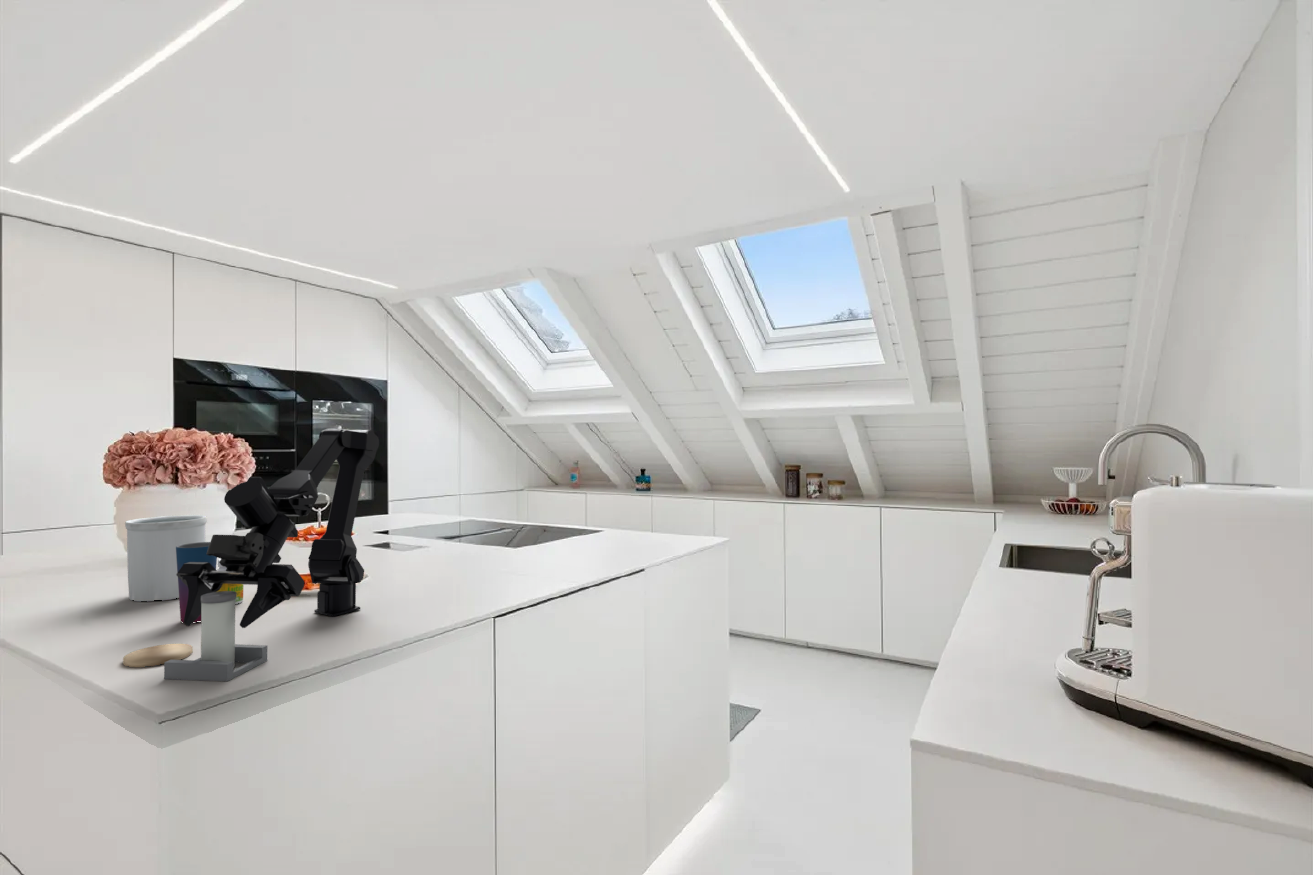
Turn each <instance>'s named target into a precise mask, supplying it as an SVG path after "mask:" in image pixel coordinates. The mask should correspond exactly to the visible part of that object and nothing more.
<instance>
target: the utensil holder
mask: <svg viewBox="0 0 1313 875" xmlns="http://www.w3.org/2000/svg"><path fill="white" fill-rule="evenodd" d="M207 521H208V518H207V516H206V515H203V514H182V515H181V514H178V515H176V514H175V515H163V516H152V517H143V518H134V519H129V520H126V521H125V523H124V525H125V526H124V527H125V529H126V542H127V543H126V551H127V552H126V553H127V556H126V557H127V558H126V559H127V561H126V562H127V584H128V585H127V586H128V598H129V600H130V601H132V600H134V601H133V602H141V601H147V602H155V601H154V600H162V601H170V600H174V599H176V598H177V599H179V588H178V576H177V575H176V574H177V558H176V546H177V545H181V544H187V543H196V542H206V523H208V522H207Z"/></svg>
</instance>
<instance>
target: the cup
mask: <svg viewBox="0 0 1313 875" xmlns="http://www.w3.org/2000/svg"><path fill="white" fill-rule="evenodd" d="M210 542H211V541H205V542H196V543H187V544H181V545H177V546H176V558H177V573H178V571H179V570H180V568H181V567H182V566H183V564H184V563H188V562H207V563H210V564H211V565H212V566H213V567H214V568H215V569H216V570H217V565H218V557H215V556H213V555H211V556H209V555H207V554H206V553H207V550H208V547H209V545H210ZM178 588H179V598H178V601H179V616H180V617H179V618H180V622H181V621H182V622H183V621H184V616H185V611H186V606H187V601H188V587H187V586H186V585H185V584H184V583H183V582H182V580H181V579H180V578H179V577H178ZM197 621H201V615H200V616H199V617H198V618H197V619H196V620H195V621H194V622H197Z"/></svg>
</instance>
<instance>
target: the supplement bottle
mask: <svg viewBox="0 0 1313 875" xmlns="http://www.w3.org/2000/svg"><path fill="white" fill-rule="evenodd" d="M220 560H221V558H218V559H217V567H218V569H217V568H216V570H217V571H226V569H227V568H226V567H223V566H222V565H221V564H220V563H219V562H220ZM220 591H234V592H236V601H235V604H236V605H238V603H239V604H241V603H243V602H244V585H243V584H223V585H222V587H221V588H220V590H219V591H217V592H220ZM242 601H243V602H242Z"/></svg>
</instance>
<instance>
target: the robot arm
mask: <svg viewBox="0 0 1313 875" xmlns="http://www.w3.org/2000/svg"><path fill="white" fill-rule="evenodd" d="M379 447H380V439H379V436H377V435H376V434H375V432H374V431H373V430H371V429H345V428H325V429H322V430H321V431H320V433H319V435H318V439H317V440H316V441H315V443H314V444H313V445H312V446H311V448H310V450H309V451H308V452H307V454H306V455H305V456H304V457H303V459H302V460H301V461H300V462H299V464H298V465H297V467H295V469H294V470H293V471H292V472H291V473H289V474H287V475H285V476H283V477H280V478H278V479H277V480H276V481H275V482H274V483H273V484H272V485H271V486H269V488H268V486H267V484H266V483H265V481H264V479H263V478H262V476H249V478H248V479H247V481H244V482H241V483H239V484H236V485H235V486H233V487H232V488H231V489H229V490H228V491H226V493H225V495H224V499H223V500H224V503H225V505H227V507H228V508H229V509H230V510H231V512H232V513H233V514H234V516H236V518H237V519H238V520H239V522H240V523H241V524H242V525H243V526H245V527H248V528H250V531H249V532H247V533H246V534H244V535H235V534H212V536H211V540H210V541H209V542H210V545H209V547H208V550H207V553H206V554H207V555H209V556H211V555H213V556H215V557H217V559H221V560H220V562H219V563H220V564H221V565H222V566H223V567H226V568H227V569H226V571H217V568H216V569H215V568H214V567H213V566H212V565H211V564H210V563H207V562H188V563H184V564H183V566H182V567H181V568H180V570H179V571H178V573H177V574H176V575H177V576H178V577H179V578H180V579H181V580H182V582H183V583H184V584H185V585H186V586H187V587H188V601H187V606H186V611H185V616H184V621H183V623H184V624H183V623H182V624H183V625H184V626H186V627H190V626H191V625H192V623H193V622H194V621H195V620H196V619H197V618H198V617H199V616H200V615H201V606H202V603H201V596H202V595H204V594H207V593H212V592H217V591H219V590H220V588H221V587H222V585H223V584H243V586H244V585H248V586H250V585H251V586H256V592H255V594H254V596H253V597H252V599H251V601H250V603H249V604H248V606H247V608H246V610H245V612H244V614H243V616H242V617H241V620H240V623H239V626H240V627H241V628H242V629H246V628H247V627H248V626H250V625H251V624H252V623H254V622H255V621H257V620H258V619H260V618H261V617H262V616H263V615H265V614H267V613H268V612H269V611H270V610H272V609H273V608H275V607H277V606H278V605H280V604H281V603H283V602H284V601H289V600H290V599H291V598H292V597H299V596H300V595H301V593H302V592H303V589H304V588H305V580H304V578H303V577H302V576H301V575H300V573H299V572H298V571H297V569H296V568H295V567H294V566H293V564H286V563H285V564H283V563H281V564H280V562H281V560H282V557H281V555H280V554H279V553H280V552H281V550H282V548H283V547H284V545H285V543H286V541H287V539H288V538H298V536H299V532H298V529H297V526H296V522H293V521H292V520H291V518H290V517H306V516H309V514H310V513H311V511H312V510H313V507H314V506H315V504H316V503H317V500H318V498H319V493H318V487H319V485H320V483H321V482H322V480H323V478H324V477H325V476H326V474H327V473H328V472H329V471H330V469H331V467H332V466H333V464H334V463H335V462H336V461H337V464H338V466H339V467H338V471H337V475H336V476H337V477H336V482H335V486H334V490H333V495H332V496H333V497H332V501H331V504H330V511H329V515H328V520H327V523H326V528H325V532H324V534H323V535H322V536H321V537H320V538H315V539H313V541H312V543H311V549H310V554H309V555H308V564H307V566H308V570H309V575H310V579H311V584H312V585H313V584H314V585H315V584H319V588H318V590H319V591H317V596H316V598H317V601H316V602H317V604H316V605H317V607H316V608H315V609H314V611H313V612H314V613H317V614H321V615H325V616H328V617H329V616H330V617H337V616H340V615H344V614H347V613H352V612H356V611H359V610H361V606H358V605H357V604H356V601H357V597H356V596H357V595H356V594H357V584H360V583H361V582H362V581H363V579H364V576H365V568H364V566H362V564H361V563H360V561H359V560H358V558H357V554H358V553H357V552H358V551H357V550H358V549H357V547H356V546H357V545H356V544H355V541H354V539H353V537H352V536H353V535H352V534H353V528H354V523H355V518H356V513H357V508H358V503H359V498H360V494H361V493H360V492H361V487H362V482H363V477H364V474H365V473H364V472H365V471H366V469H367V468H368V467H369V466H370V465H371V464H372V463H373V462H374V461H375V458H376V455H377V452H378V449H379Z"/></svg>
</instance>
